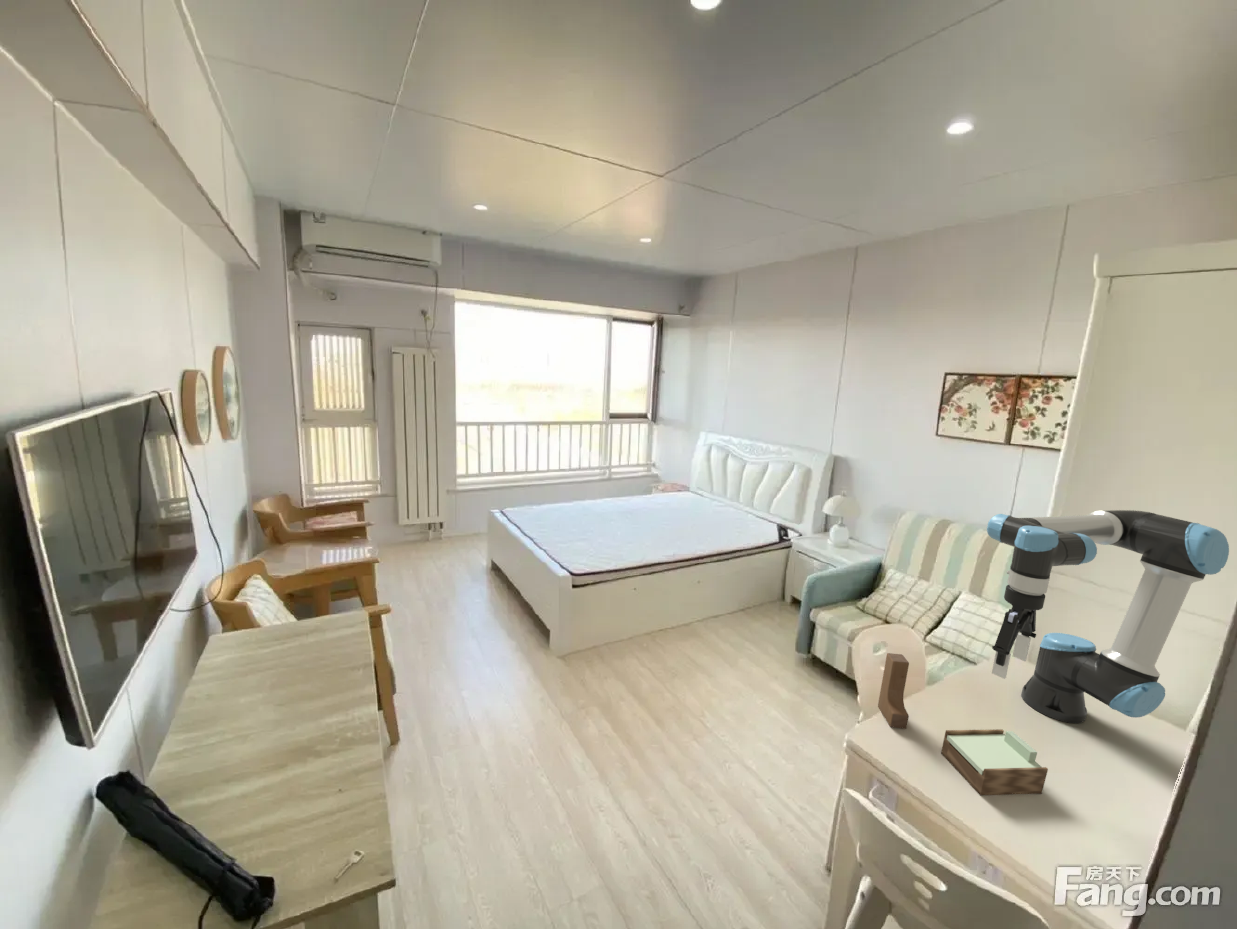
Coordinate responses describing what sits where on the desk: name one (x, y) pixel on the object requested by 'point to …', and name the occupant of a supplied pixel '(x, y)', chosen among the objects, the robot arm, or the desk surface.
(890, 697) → the wooden block
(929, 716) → the desk surface
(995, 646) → the robot arm
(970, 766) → the box
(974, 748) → the lid
